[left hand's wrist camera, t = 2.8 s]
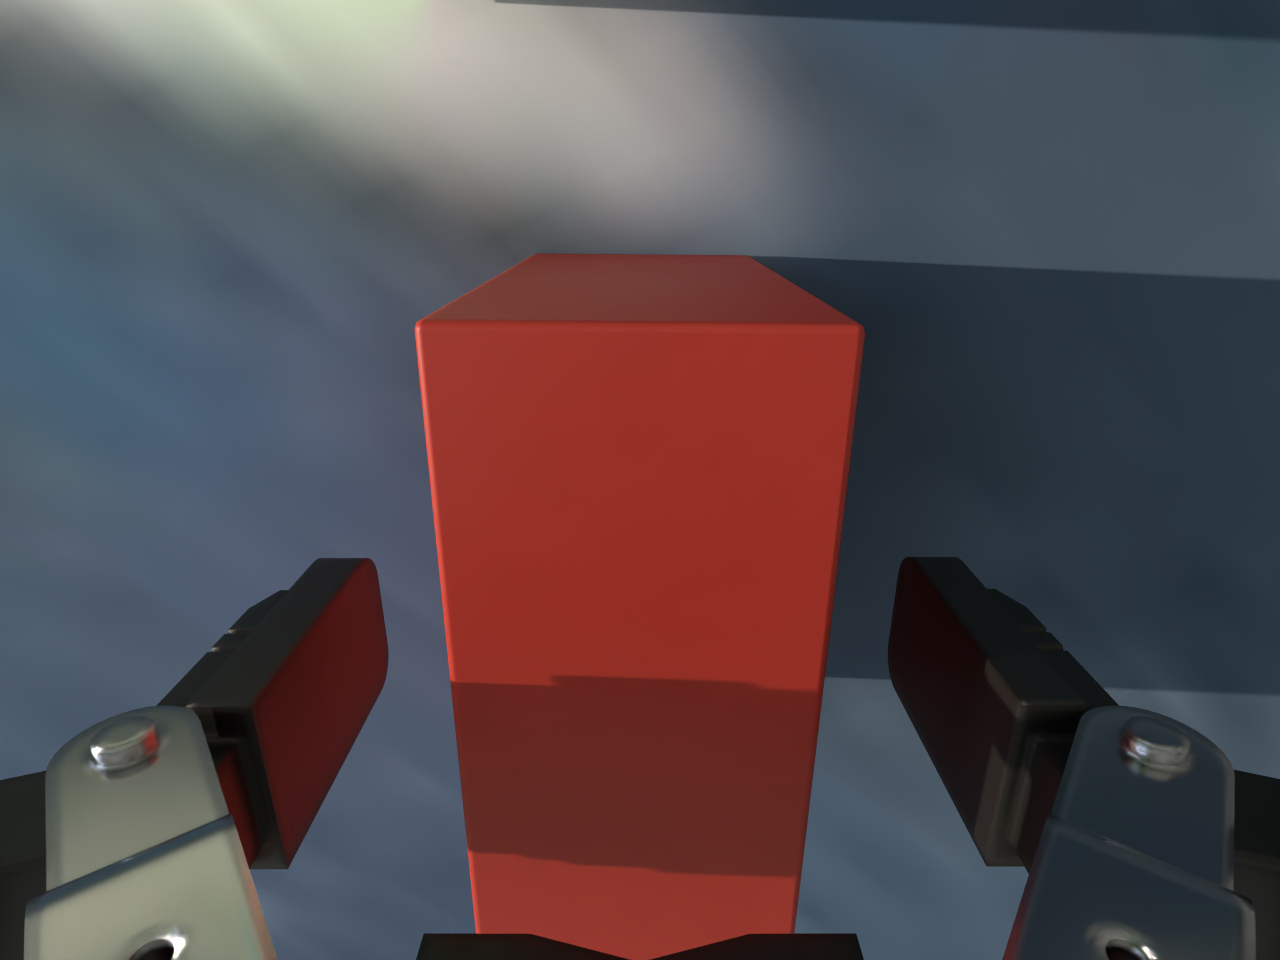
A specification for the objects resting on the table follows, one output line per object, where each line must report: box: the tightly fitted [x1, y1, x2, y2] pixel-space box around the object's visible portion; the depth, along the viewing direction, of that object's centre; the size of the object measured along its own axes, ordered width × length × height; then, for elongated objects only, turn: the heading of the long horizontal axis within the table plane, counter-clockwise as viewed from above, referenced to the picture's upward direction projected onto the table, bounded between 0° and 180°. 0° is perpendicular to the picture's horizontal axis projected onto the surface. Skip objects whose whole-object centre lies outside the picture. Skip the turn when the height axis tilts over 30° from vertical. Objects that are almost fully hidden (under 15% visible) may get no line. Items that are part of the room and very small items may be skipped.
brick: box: [415, 254, 865, 960], centre depth 12 cm, size 4×9×8 cm, turn 0°
